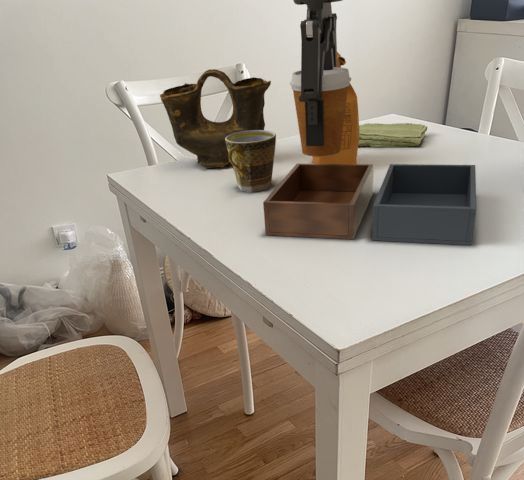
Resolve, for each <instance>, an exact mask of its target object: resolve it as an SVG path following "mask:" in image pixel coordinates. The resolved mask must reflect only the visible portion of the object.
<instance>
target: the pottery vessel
mask: <svg viewBox="0 0 524 480" xmlns="http://www.w3.org/2000/svg"><path fill="white" fill-rule="evenodd" d="M208 78H216V79H218V80H219V81H220V82H222V83H223V85H224V86H225V88H227V91H228V94H229V95H230V99H231V104H232V113H231V115H230V118H228V119H227V120H225V121H218V122H217V121H212V120H209V119H208V118H206V117H205V116H204V114H203V111H202V91H203V87H204V85H205V82H206V81H207V80H208ZM271 84H272V81H271V80H268V81H267V80H265V79H263V78H261V77H254V76H252V77H250V78H249V77H248V78H244V79H241V80H238V81H236V82H232V80H231V78H230V77H229V75H227V74H226V73H225V72H224V71H222V70H219V69H215V68H214V69H212V68H211V69H207V70H205V71H204V72H203V73H202V74H201V75H200V77H199V78H198V79H197V82H196V83H187V82H185V83H184V84H183V85H177V86H174V87H170V88H167V89H165V90H163V92H162V93H161V94H159V97H160V101H161V102H162V104H163V107H164V109H165V111H166V114H167V116H168V120H169V123H170V125H171V128H172V134H173V137H174V140H175V143H176V144H177V145H178V146H179V147H180V148H182V149H184V150H186V151H188V152H189V153H190V154H193V155H195V156H196V158H197V164H198V165H199V164H200V163H201V164H200V165H201V166H202V167H203V168H204V169H211V168H216V167H218V168H224V167H225V166H226V165H228V164H230V161H229V153H228V149H227V145H226V141H225V138H226V137H227V136H229V135H231V134H234V133H238V132H243V131H250V130H265V127H266V122H265V116H264V109H265V103H266V101H265V93H266V92H267V90H268V89H269V88H270V86H271Z"/></svg>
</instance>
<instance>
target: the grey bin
mask: <svg viewBox="0 0 524 480" xmlns="http://www.w3.org/2000/svg"><path fill="white" fill-rule="evenodd" d="M476 177H477V176H476V164H422V163H421V164H420V163H419V164H418V163H417V164H412V163H411V164H408V163H407V164H406V163H405V164H404V163H390V164H389V166H388V168H387V170H386V174H385V176H384V179H383V181H382V184H381V186H380V188H379V191H378V192H377V193H378V194H377V196H376V199H375V201H374V203H373V206H372V231H371V232H372V233H371V240H372V241H377V242H399V243H419V244H420V243H421V244H439V245H459V246H460V245H461V246H472V240H473V234H474V227H475V222H476V221H475V220H476V214H477V178H476Z"/></svg>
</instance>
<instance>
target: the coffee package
mask: <svg viewBox="0 0 524 480" xmlns="http://www.w3.org/2000/svg"><path fill="white" fill-rule="evenodd" d="M346 63H347V61H346V58H345V57H343V56H342V54H340V53H339V52H338V51H337V67H339V68H342V66H345V65H346ZM359 116H360V115H359V103H358V96H357V93H356V91H355V89H354V87H353V86H352V84H351V83H350V85H349V86H348V91H347V100H346V108H345V116H344V124H343V132H342V140H341V148H340V152H339V153H337V154H334V155H330V156H322V157H313V156H311V159H312V164H357V160H358V150H359V146H358V145H359V126H360V118H359Z"/></svg>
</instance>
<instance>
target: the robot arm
mask: <svg viewBox="0 0 524 480" xmlns="http://www.w3.org/2000/svg"><path fill="white" fill-rule="evenodd" d="M342 1H343V0H293V3H294V4H295V5H298V6H303V5H306V7H307V8H306V17H305V19H304V20H301V21H300V24H299V27H300V39H301V42H300V43H301V49H300V50H301V53H300V54H301V55H300V58H301V59H300V61H301V62H300V70H301V96H299V101H300V102H305V120H306V146H323V145H324V100H321V99H322V76H323V70H333V67H337V52H338V44H337V43H338V42H337V20H338V15H337V13H336V12H335V13H334V12H333V9H332V3H336V2H342ZM311 89H314V90H311Z"/></svg>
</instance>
